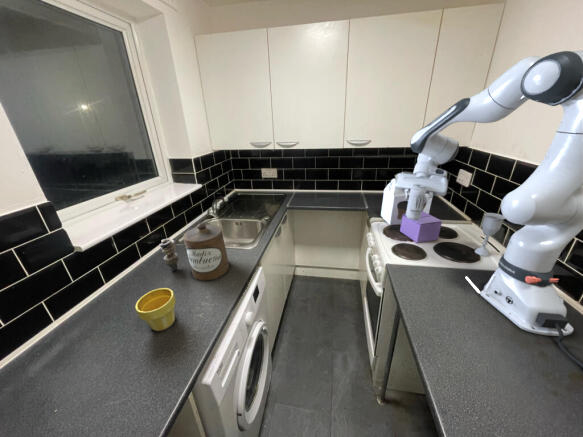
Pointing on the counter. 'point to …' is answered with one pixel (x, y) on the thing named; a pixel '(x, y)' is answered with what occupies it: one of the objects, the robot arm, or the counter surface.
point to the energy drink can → (416, 201)
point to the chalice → (489, 229)
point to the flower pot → (157, 308)
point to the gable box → (392, 200)
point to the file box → (420, 229)
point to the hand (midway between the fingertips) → (416, 200)
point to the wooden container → (206, 251)
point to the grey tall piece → (169, 253)
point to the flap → (427, 220)
